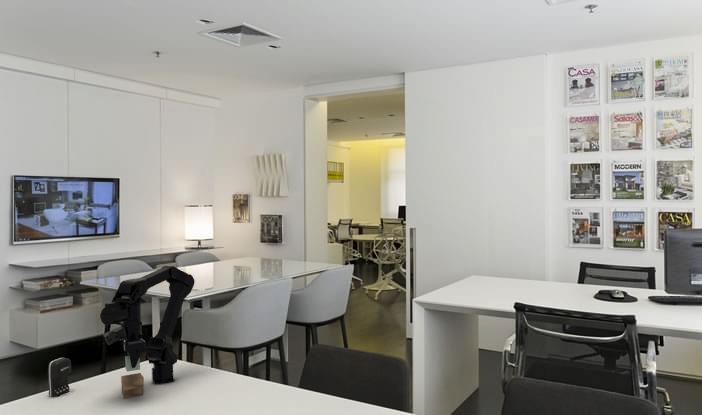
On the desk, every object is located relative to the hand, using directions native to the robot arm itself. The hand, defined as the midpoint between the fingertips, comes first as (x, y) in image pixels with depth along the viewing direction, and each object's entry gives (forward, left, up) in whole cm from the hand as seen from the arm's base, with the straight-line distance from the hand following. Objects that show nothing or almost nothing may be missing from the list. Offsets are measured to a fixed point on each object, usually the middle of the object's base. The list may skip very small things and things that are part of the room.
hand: (132, 365), depth 177 cm
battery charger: (+21, -13, -10) cm, 26 cm away
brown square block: (0, 0, -7) cm, 7 cm away
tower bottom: (0, 0, -10) cm, 10 cm away
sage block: (0, 0, -1) cm, 1 cm away
